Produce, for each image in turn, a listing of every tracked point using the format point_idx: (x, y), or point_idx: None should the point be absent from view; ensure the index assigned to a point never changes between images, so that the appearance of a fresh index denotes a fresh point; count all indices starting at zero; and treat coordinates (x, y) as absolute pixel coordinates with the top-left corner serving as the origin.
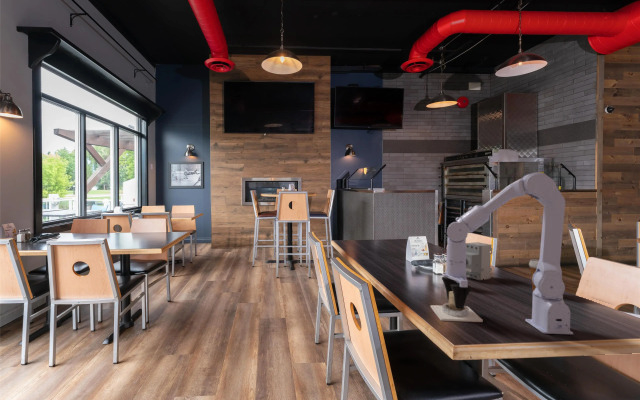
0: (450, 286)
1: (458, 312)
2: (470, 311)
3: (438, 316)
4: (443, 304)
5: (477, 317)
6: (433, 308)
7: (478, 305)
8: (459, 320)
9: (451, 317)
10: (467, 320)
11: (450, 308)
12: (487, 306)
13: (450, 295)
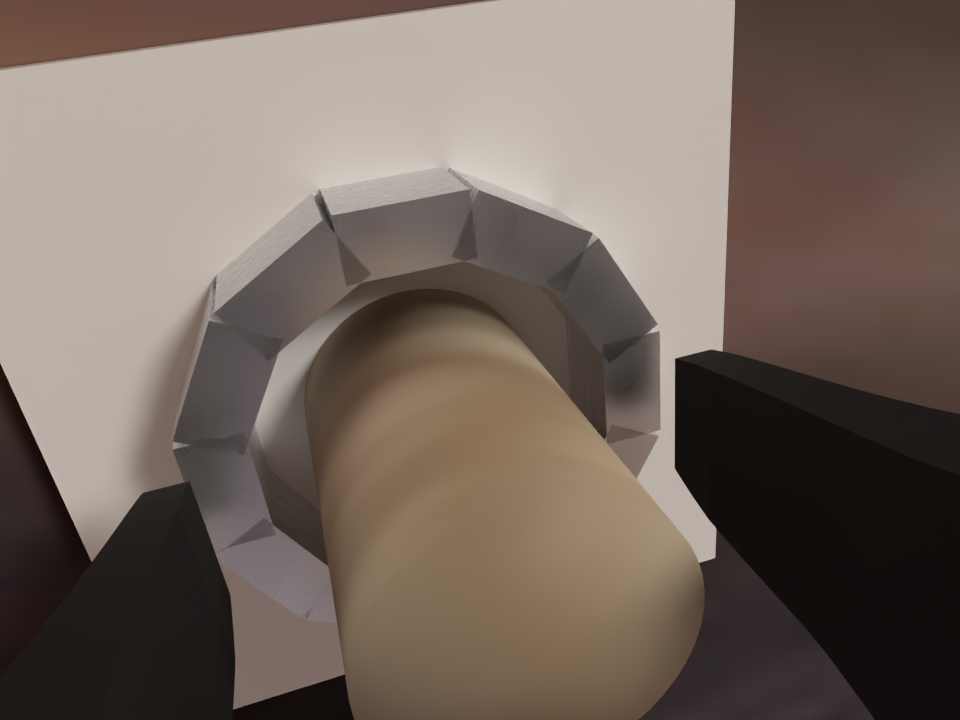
0: (909, 583)
1: (187, 475)
2: None
3: (109, 53)
4: (556, 230)
5: (261, 672)
6: (546, 1)
7: (801, 641)
8: (45, 434)
9: (77, 316)
10: (90, 549)
11: (363, 349)
12: (770, 715)
13: (433, 502)
